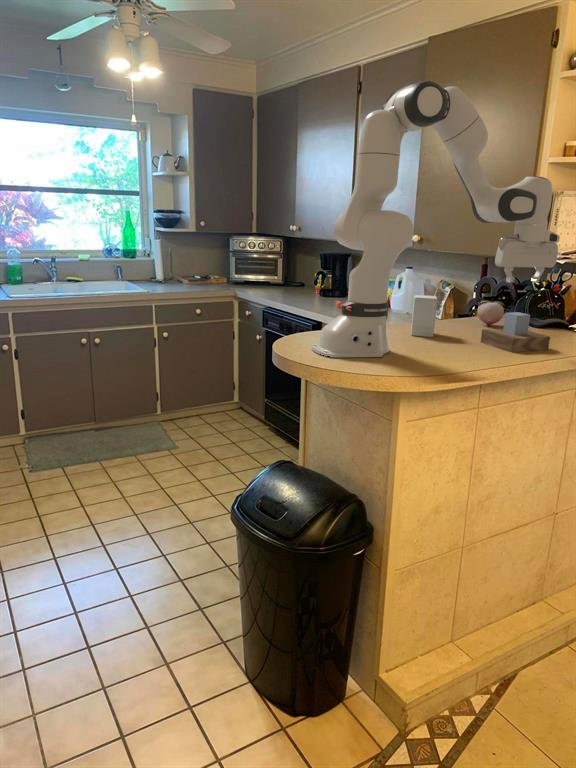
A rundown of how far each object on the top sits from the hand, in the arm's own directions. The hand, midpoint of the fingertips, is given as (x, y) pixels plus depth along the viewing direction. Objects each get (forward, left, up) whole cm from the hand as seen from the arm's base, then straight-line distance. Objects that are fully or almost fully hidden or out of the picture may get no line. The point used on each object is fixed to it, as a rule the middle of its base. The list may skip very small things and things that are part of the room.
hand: (522, 282), depth 173 cm
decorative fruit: (+15, +30, -20) cm, 39 cm away
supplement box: (-19, +22, -20) cm, 35 cm away
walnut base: (0, 0, -20) cm, 20 cm away
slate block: (0, 0, -16) cm, 16 cm away
